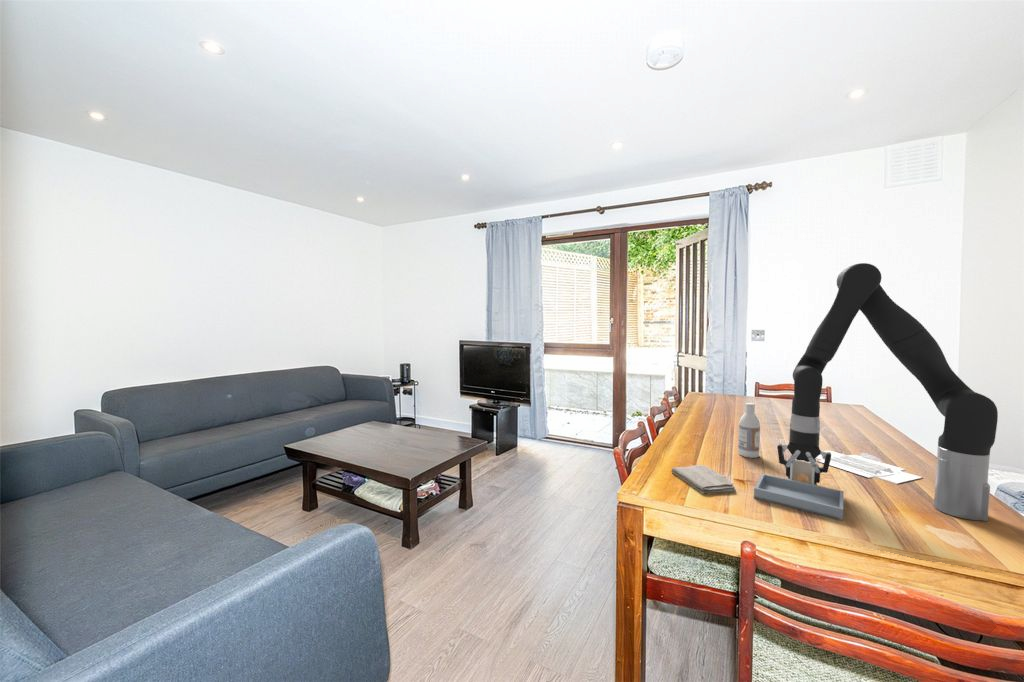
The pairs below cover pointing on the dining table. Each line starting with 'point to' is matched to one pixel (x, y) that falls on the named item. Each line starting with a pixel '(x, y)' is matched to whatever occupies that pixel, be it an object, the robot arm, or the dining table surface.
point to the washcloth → (704, 479)
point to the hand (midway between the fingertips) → (802, 480)
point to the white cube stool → (802, 470)
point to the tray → (800, 496)
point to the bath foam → (749, 433)
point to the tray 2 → (868, 467)
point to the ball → (802, 478)
